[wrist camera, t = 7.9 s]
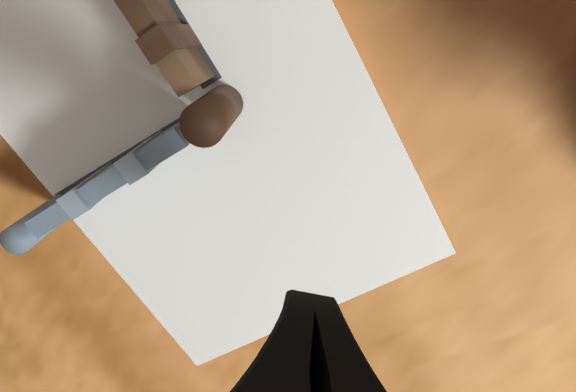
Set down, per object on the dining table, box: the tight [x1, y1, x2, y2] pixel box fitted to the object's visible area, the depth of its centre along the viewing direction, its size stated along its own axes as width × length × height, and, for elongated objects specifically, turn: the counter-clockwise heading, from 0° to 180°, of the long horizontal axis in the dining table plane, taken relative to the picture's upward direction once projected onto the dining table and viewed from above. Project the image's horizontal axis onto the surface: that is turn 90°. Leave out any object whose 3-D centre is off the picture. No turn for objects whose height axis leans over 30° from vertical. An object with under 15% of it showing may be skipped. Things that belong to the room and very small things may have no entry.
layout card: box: [0, 0, 456, 366], centre depth 19 cm, size 21×16×1 cm
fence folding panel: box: [0, 122, 190, 255], centre depth 17 cm, size 9×1×4 cm, turn 121°
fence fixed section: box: [114, 0, 243, 148], centre depth 15 cm, size 10×2×4 cm, turn 30°
